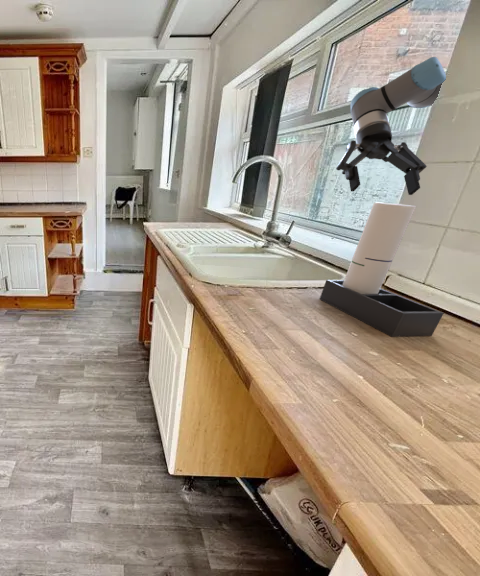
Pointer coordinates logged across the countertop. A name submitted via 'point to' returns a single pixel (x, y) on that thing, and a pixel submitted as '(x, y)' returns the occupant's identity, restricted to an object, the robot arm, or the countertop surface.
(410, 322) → the divided tray
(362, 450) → the countertop surface
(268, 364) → the countertop surface
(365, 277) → the cylindrical container
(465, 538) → the countertop surface
